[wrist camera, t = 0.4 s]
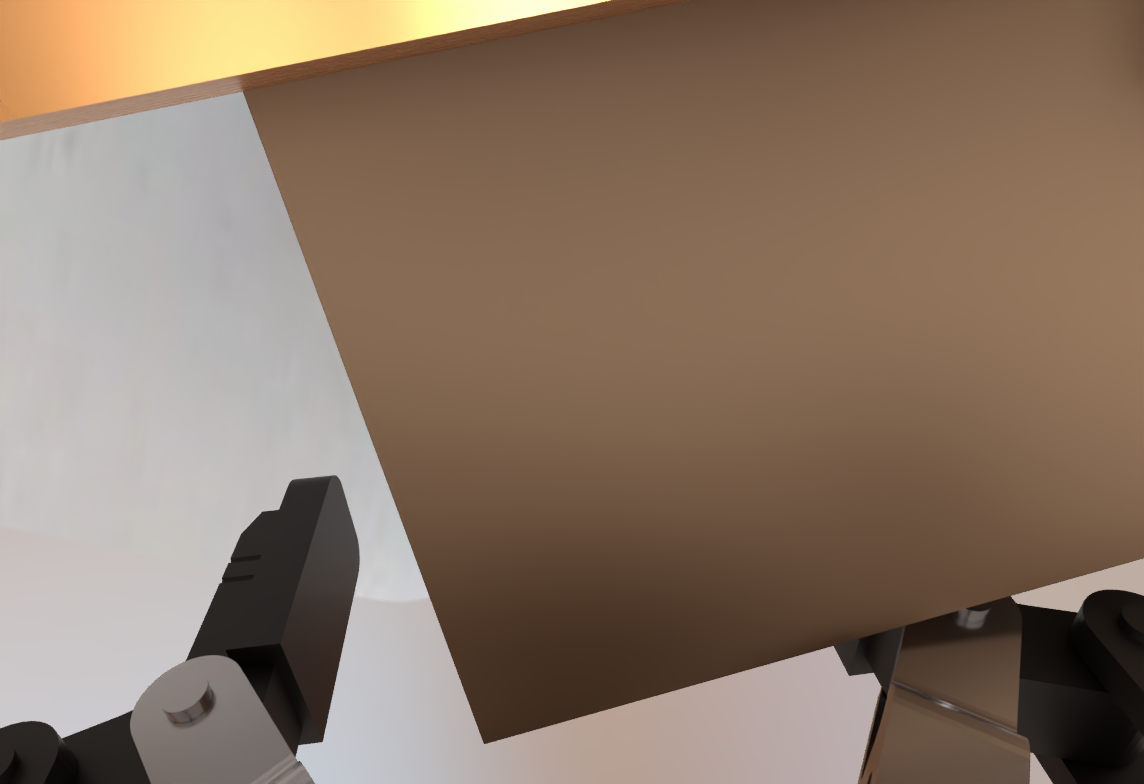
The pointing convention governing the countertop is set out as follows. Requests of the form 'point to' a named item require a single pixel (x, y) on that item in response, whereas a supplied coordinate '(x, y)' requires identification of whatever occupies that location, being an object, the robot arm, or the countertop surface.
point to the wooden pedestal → (735, 324)
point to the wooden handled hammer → (231, 46)
